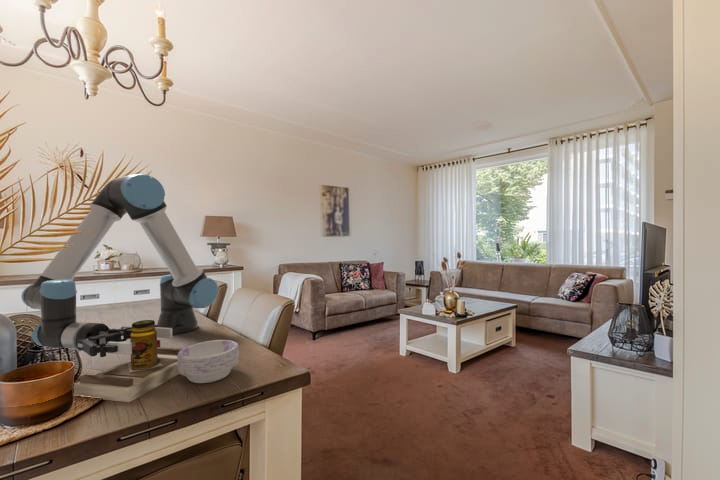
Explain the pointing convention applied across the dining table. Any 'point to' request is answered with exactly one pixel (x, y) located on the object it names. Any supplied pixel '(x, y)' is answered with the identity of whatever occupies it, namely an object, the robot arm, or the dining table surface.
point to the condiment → (143, 346)
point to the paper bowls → (208, 360)
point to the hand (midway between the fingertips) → (152, 340)
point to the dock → (129, 379)
